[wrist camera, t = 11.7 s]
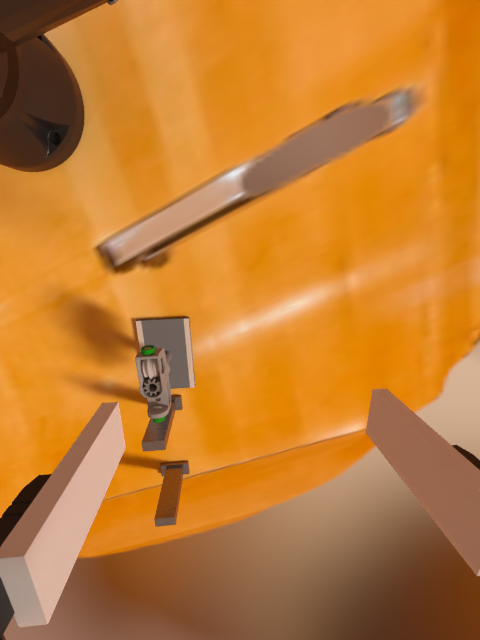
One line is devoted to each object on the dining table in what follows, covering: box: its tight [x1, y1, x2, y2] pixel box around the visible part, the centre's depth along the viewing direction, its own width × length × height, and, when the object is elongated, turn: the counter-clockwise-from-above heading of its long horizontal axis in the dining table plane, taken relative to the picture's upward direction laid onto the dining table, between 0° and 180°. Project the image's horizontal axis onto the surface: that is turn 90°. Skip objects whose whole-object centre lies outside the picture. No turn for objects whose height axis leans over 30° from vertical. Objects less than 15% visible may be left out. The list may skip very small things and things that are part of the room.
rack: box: [142, 396, 189, 527], centre depth 42 cm, size 16×5×10 cm, turn 2°
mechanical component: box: [135, 345, 172, 423], centre depth 37 cm, size 3×10×10 cm, turn 3°
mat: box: [136, 317, 195, 389], centre depth 42 cm, size 12×8×1 cm, turn 2°
